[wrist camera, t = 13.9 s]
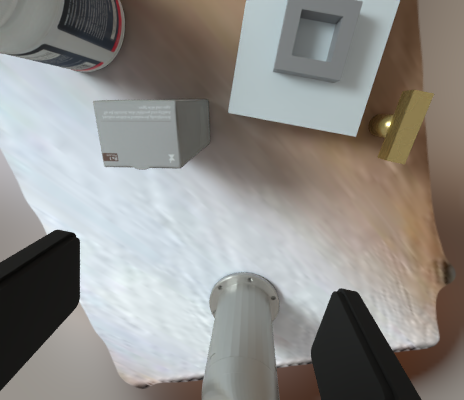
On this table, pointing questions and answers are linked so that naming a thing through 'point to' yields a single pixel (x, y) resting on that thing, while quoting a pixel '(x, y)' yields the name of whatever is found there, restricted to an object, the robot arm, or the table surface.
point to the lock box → (310, 61)
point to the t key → (401, 125)
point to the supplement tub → (63, 31)
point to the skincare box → (152, 131)
